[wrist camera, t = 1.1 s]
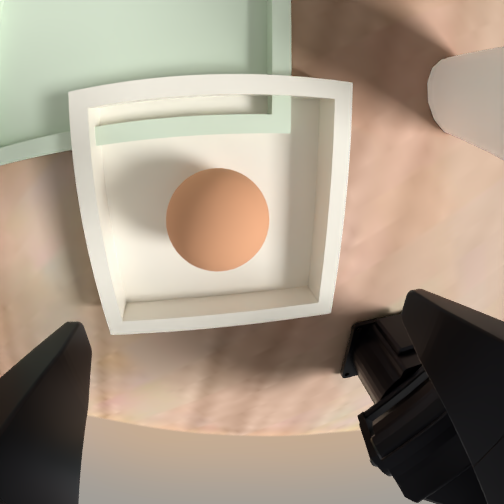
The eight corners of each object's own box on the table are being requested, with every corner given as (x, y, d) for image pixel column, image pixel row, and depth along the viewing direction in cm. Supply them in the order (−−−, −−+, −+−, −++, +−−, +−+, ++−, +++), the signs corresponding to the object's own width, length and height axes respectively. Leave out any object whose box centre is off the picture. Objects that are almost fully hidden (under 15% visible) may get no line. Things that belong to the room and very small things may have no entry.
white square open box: (315, 289, 23) (330, 313, 20) (118, 307, 20) (110, 335, 18) (329, 84, 17) (352, 82, 14) (86, 93, 14) (68, 91, 12)
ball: (257, 242, 19) (279, 285, 15) (173, 248, 18) (169, 296, 14) (258, 158, 17) (283, 178, 12) (165, 163, 16) (156, 185, 12)
